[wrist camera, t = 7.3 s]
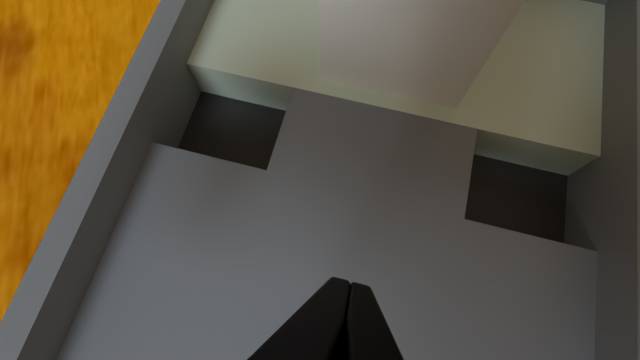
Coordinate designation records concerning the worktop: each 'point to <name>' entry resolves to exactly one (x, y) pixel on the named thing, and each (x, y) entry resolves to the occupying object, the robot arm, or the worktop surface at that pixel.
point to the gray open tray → (349, 196)
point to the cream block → (411, 44)
